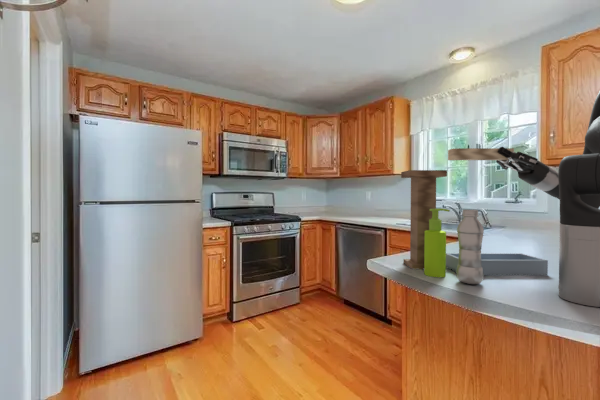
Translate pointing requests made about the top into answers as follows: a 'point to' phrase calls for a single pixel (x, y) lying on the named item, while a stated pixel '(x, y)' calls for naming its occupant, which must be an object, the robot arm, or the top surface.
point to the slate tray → (505, 264)
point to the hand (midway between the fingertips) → (495, 150)
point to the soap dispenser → (435, 247)
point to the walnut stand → (421, 211)
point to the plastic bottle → (470, 248)
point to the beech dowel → (476, 154)
